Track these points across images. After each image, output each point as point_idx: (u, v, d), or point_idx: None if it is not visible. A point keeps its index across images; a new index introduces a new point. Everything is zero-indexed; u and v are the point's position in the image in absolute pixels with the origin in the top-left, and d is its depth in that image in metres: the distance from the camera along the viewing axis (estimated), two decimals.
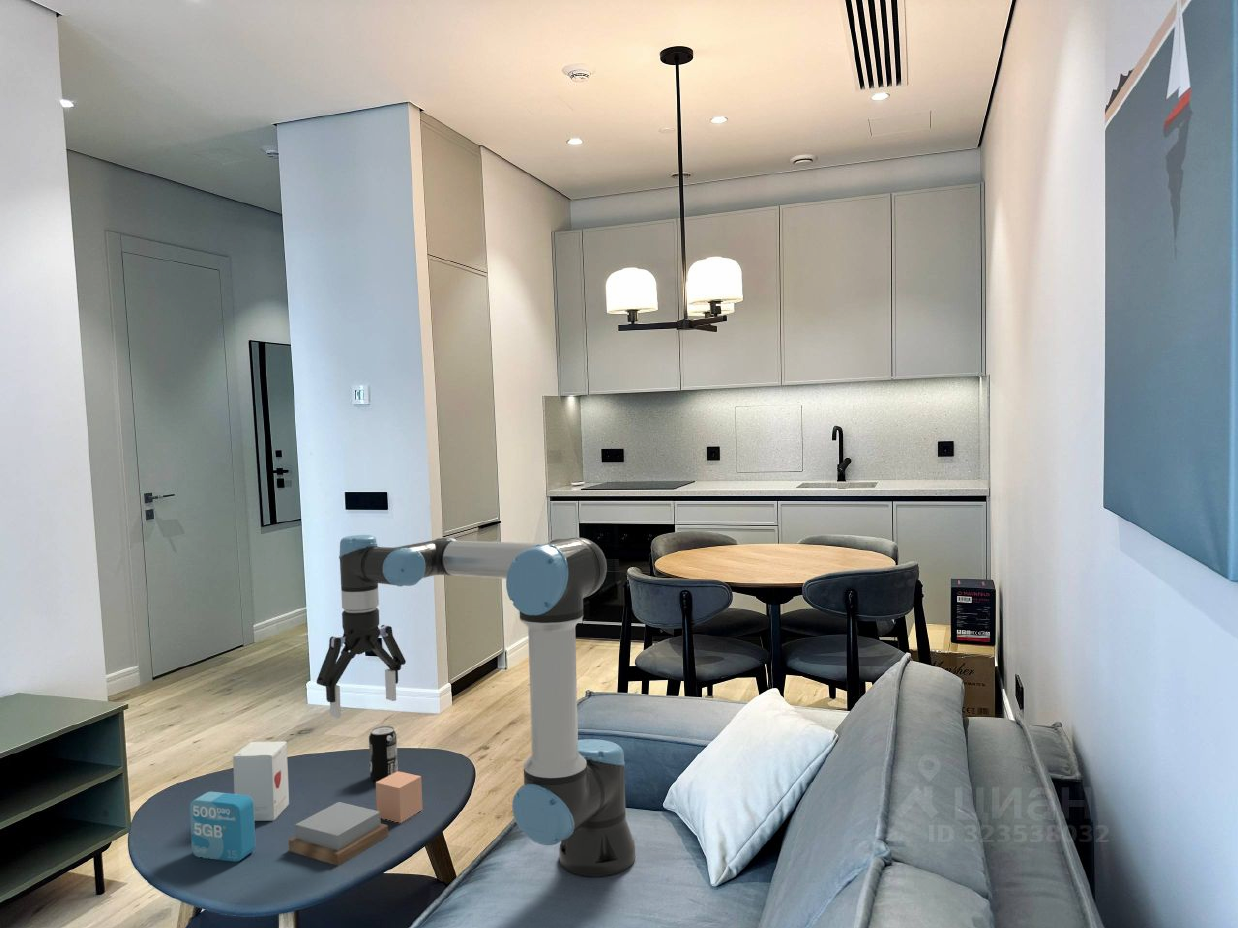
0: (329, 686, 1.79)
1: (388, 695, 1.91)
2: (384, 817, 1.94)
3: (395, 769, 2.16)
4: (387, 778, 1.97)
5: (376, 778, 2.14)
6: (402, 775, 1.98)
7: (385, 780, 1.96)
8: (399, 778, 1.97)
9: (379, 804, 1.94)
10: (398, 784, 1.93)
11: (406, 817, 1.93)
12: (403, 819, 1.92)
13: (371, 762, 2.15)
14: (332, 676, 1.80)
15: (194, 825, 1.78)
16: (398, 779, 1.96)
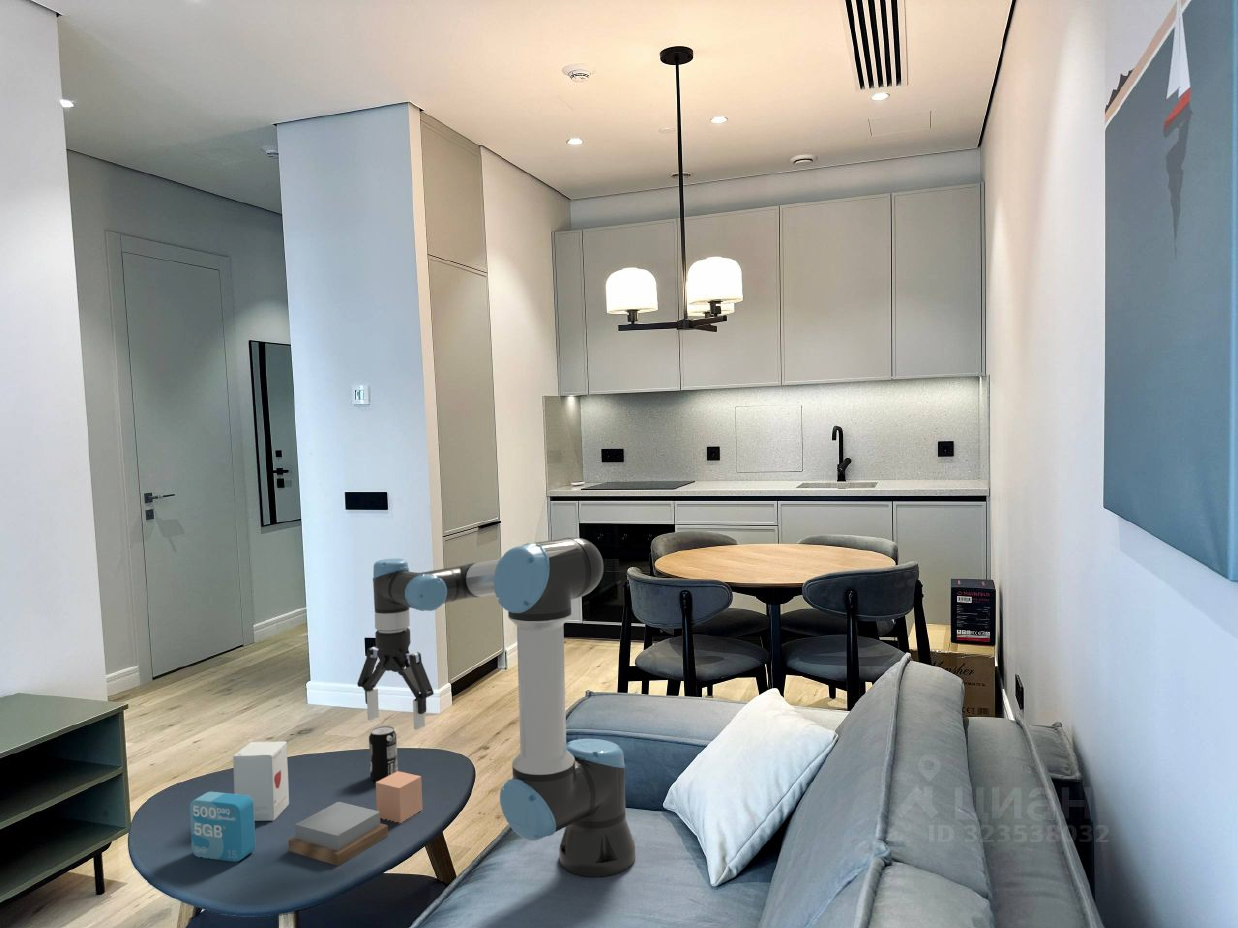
0: None
1: None
2: (384, 817, 1.94)
3: (395, 769, 2.16)
4: (387, 778, 1.97)
5: (376, 778, 2.14)
6: (402, 775, 1.98)
7: (385, 780, 1.96)
8: (399, 778, 1.97)
9: (379, 804, 1.94)
10: (399, 784, 1.93)
11: (406, 817, 1.93)
12: (403, 819, 1.92)
13: (371, 762, 2.15)
14: None
15: (194, 825, 1.78)
16: (399, 779, 1.96)
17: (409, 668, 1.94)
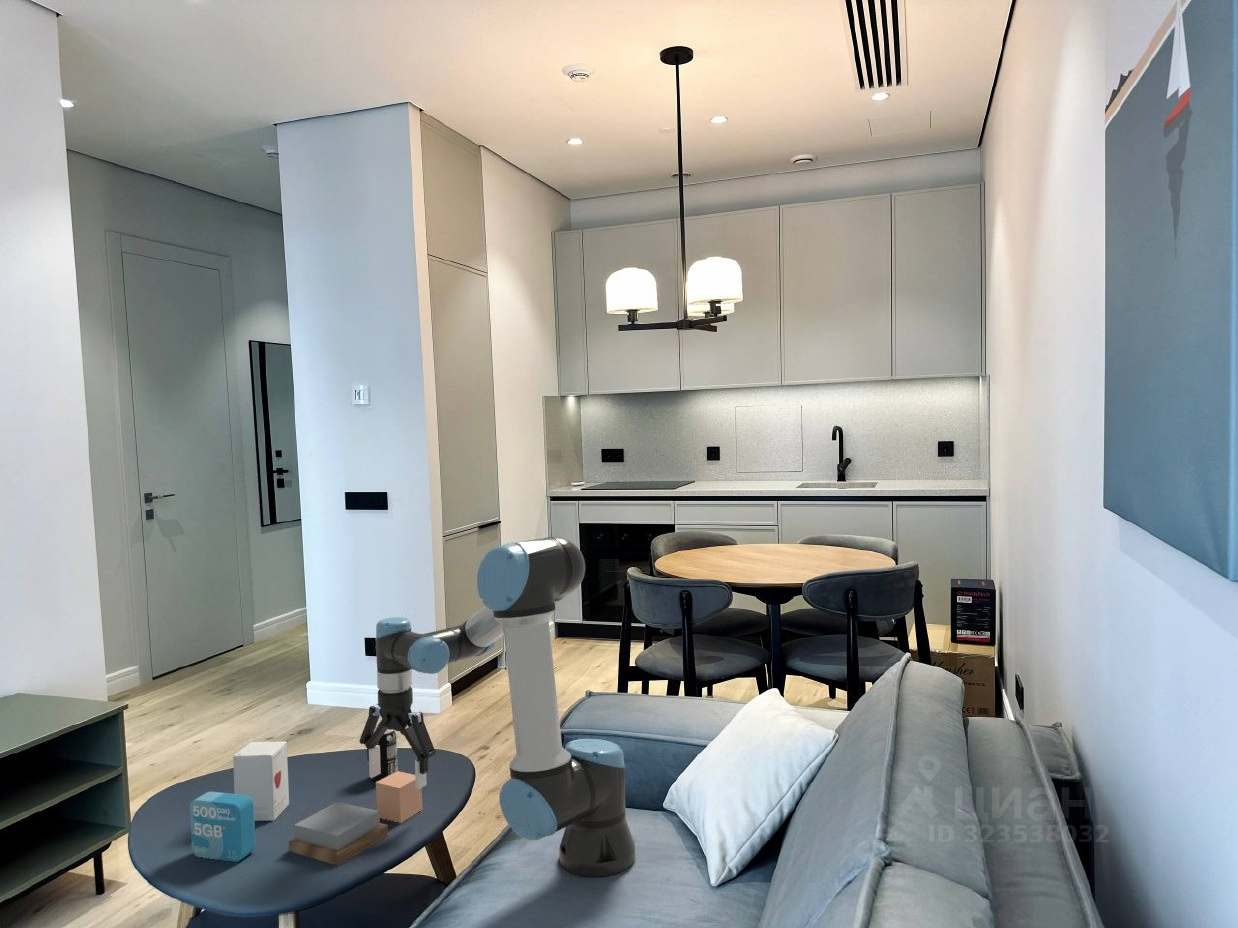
0: None
1: None
2: (384, 817, 1.94)
3: (395, 769, 2.16)
4: (387, 778, 1.97)
5: (376, 778, 2.14)
6: (402, 775, 1.98)
7: (385, 780, 1.96)
8: (399, 778, 1.97)
9: (379, 804, 1.94)
10: (398, 784, 1.93)
11: (406, 817, 1.93)
12: (403, 819, 1.92)
13: None
14: None
15: (194, 825, 1.78)
16: (398, 779, 1.96)
17: (411, 727, 1.94)
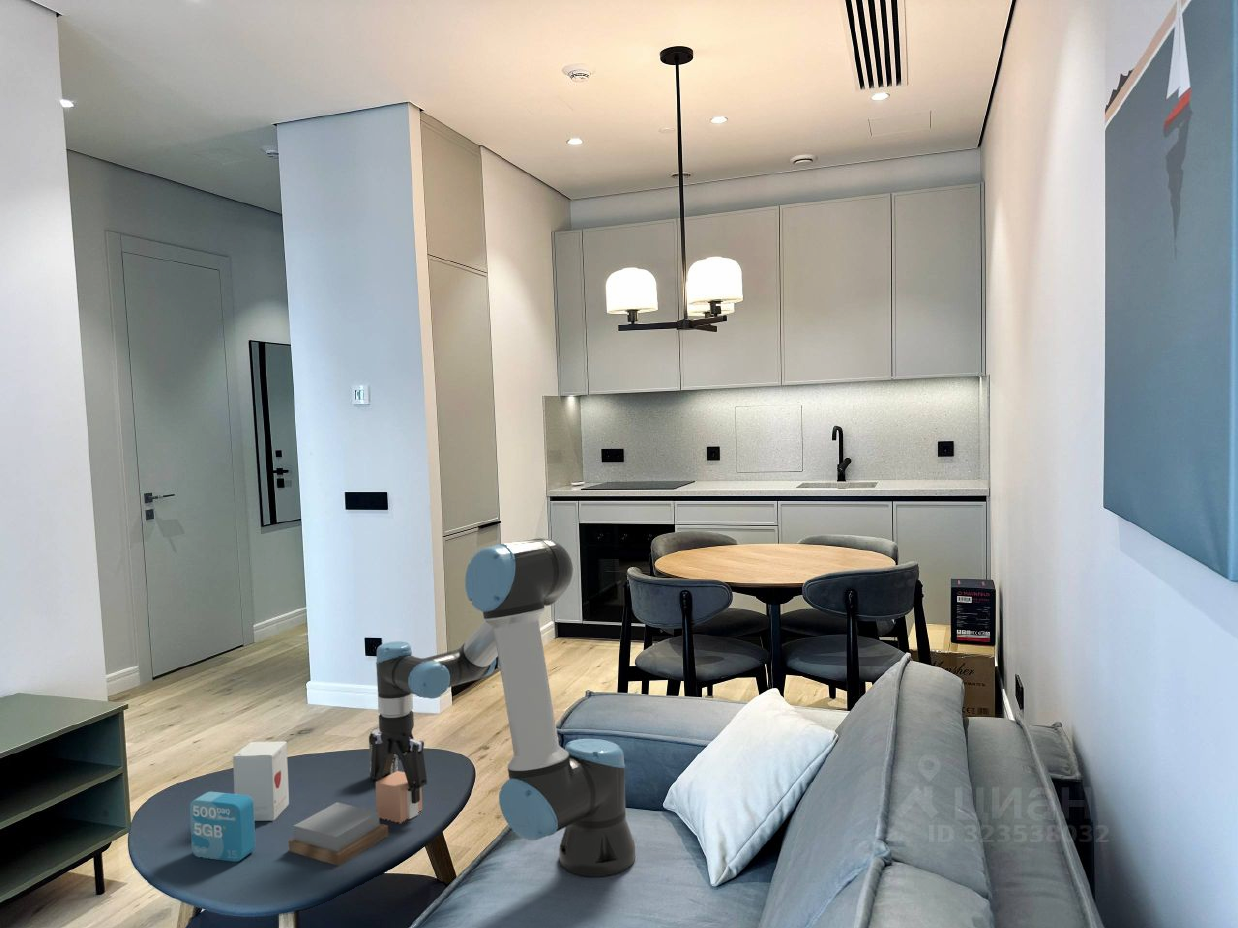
0: None
1: None
2: (384, 817, 1.94)
3: (395, 769, 2.16)
4: (387, 777, 1.97)
5: None
6: (402, 775, 1.98)
7: (385, 780, 1.96)
8: (399, 777, 1.97)
9: (379, 804, 1.94)
10: (398, 783, 1.93)
11: (406, 817, 1.93)
12: (403, 819, 1.92)
13: None
14: None
15: (194, 825, 1.78)
16: (398, 779, 1.96)
17: (409, 754, 1.95)
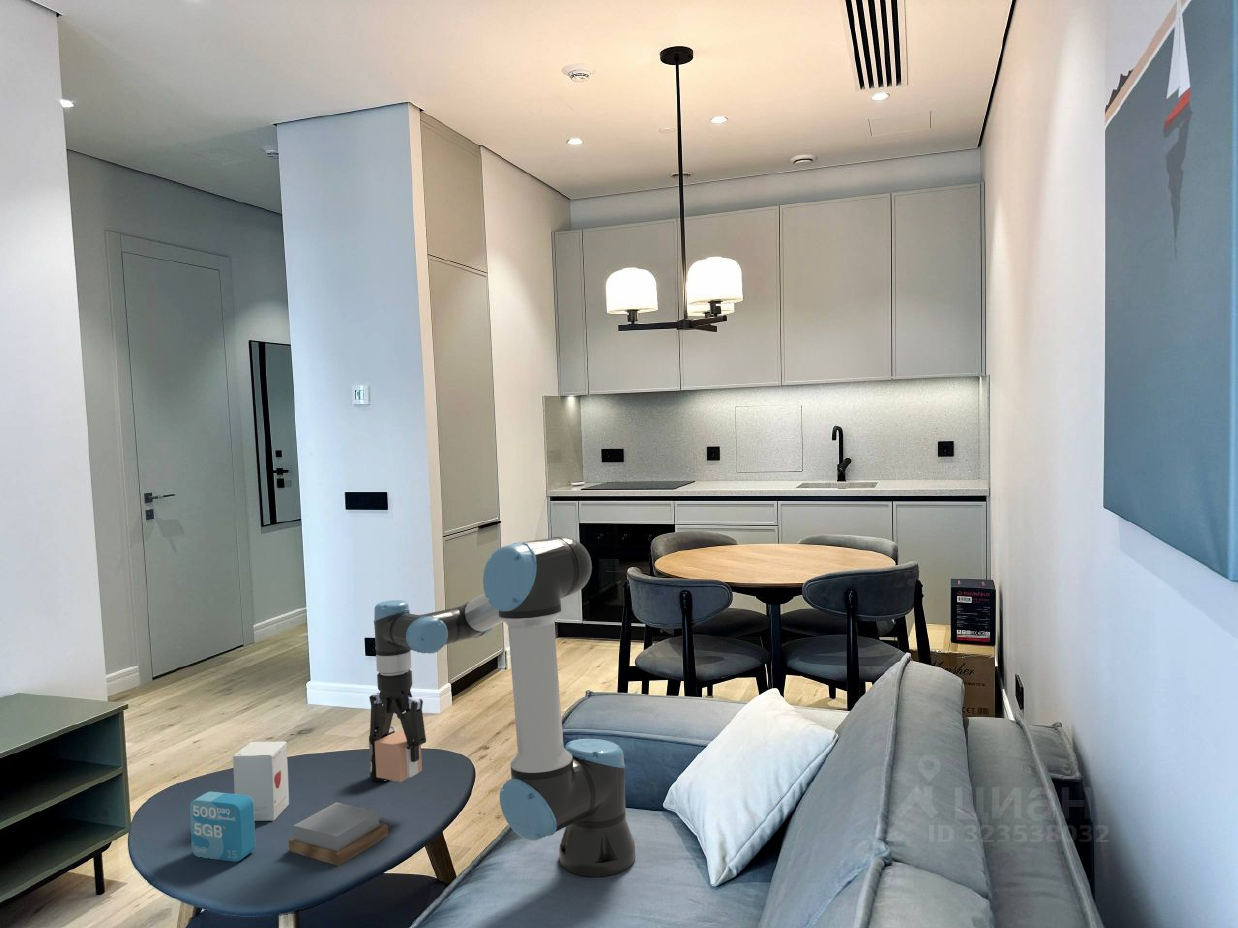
0: None
1: None
2: (383, 776, 1.93)
3: None
4: (386, 737, 1.96)
5: (376, 778, 2.14)
6: (401, 735, 1.98)
7: (384, 739, 1.95)
8: (398, 737, 1.96)
9: (378, 763, 1.94)
10: (397, 742, 1.93)
11: (405, 775, 1.92)
12: (402, 777, 1.92)
13: (371, 762, 2.15)
14: None
15: (194, 825, 1.78)
16: (397, 738, 1.95)
17: (408, 713, 1.94)
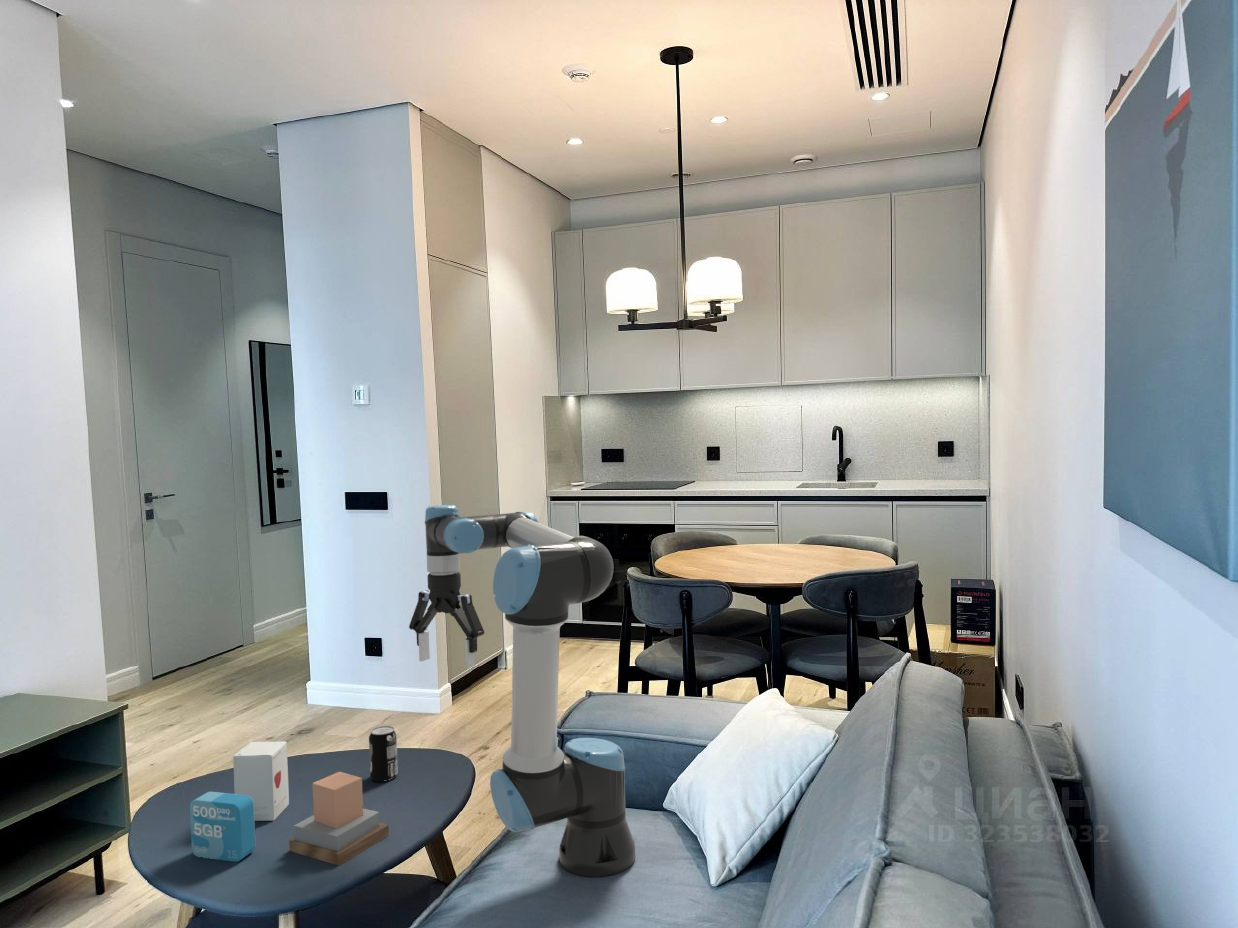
0: None
1: None
2: (320, 821, 1.81)
3: (395, 769, 2.16)
4: (325, 778, 1.84)
5: (376, 778, 2.14)
6: (342, 776, 1.85)
7: (323, 781, 1.83)
8: (338, 779, 1.84)
9: (316, 806, 1.82)
10: (335, 785, 1.80)
11: (343, 821, 1.80)
12: (339, 823, 1.79)
13: (371, 762, 2.15)
14: None
15: (194, 825, 1.78)
16: (337, 780, 1.83)
17: (460, 609, 2.01)
